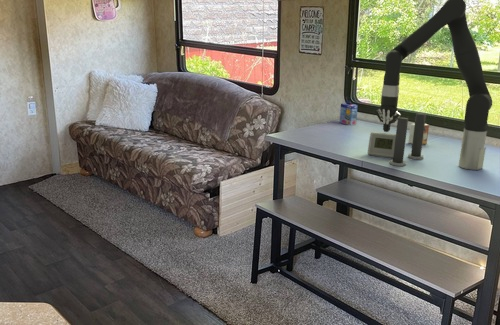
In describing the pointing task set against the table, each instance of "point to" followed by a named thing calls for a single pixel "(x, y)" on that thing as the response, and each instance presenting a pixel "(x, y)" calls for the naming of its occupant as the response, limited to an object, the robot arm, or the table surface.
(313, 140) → the table surface
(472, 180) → the table surface
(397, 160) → the post left
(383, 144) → the digital clock
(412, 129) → the small box
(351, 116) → the ink cartridge box
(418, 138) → the post right
